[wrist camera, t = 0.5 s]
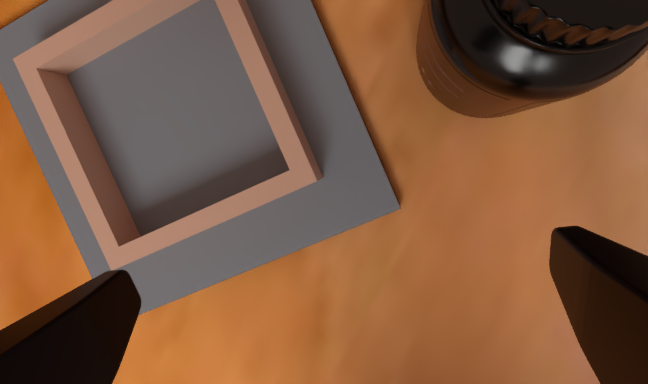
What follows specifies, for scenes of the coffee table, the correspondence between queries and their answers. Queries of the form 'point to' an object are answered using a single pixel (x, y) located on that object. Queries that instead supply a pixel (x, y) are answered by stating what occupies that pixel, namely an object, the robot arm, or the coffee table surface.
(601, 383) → the robot arm
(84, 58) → the dock tray
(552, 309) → the coffee table surface
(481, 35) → the supplement bottle
